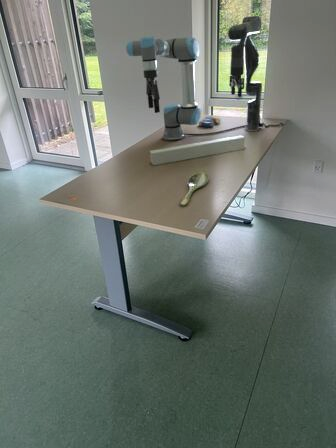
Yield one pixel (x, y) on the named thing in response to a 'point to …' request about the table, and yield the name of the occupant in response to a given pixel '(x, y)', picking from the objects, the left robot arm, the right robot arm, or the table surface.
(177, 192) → the table surface
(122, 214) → the table surface
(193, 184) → the spoon
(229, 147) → the beam
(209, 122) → the spray gun
